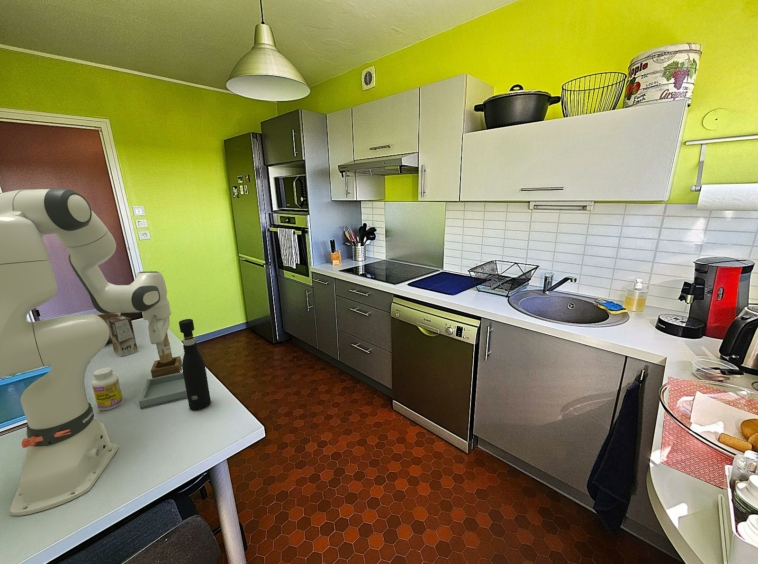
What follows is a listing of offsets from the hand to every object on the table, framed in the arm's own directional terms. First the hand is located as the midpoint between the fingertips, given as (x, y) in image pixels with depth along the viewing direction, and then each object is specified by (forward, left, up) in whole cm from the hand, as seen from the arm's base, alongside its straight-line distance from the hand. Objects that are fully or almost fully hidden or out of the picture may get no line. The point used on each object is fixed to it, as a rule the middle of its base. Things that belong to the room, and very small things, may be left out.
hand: (163, 346), depth 126 cm
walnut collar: (0, 0, -12) cm, 12 cm away
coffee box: (+31, +20, -12) cm, 38 cm away
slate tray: (-16, -2, -12) cm, 20 cm away
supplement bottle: (-16, +15, -12) cm, 25 cm away
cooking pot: (+51, +33, -12) cm, 62 cm away
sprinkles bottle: (0, 0, -7) cm, 7 cm away
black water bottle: (-30, -12, -12) cm, 35 cm away
